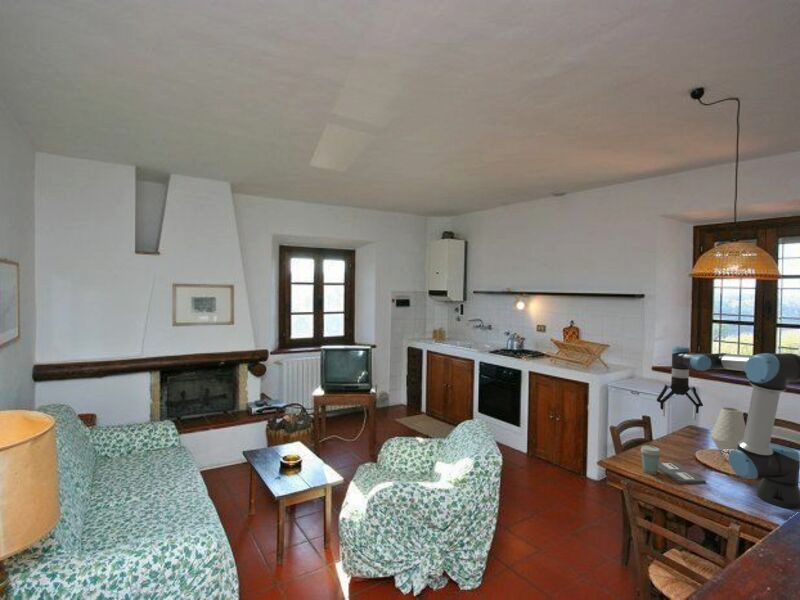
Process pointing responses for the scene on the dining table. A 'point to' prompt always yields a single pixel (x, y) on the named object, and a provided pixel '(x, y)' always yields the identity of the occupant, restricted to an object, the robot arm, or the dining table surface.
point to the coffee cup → (650, 459)
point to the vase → (728, 428)
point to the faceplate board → (679, 473)
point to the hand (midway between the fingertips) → (678, 417)
